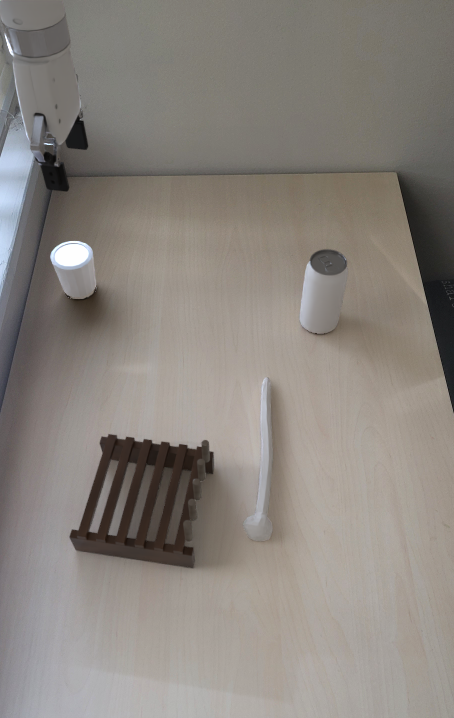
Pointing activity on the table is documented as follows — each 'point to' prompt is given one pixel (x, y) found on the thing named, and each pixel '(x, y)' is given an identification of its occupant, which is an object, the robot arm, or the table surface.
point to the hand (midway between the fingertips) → (68, 168)
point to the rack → (159, 457)
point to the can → (323, 291)
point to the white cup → (74, 268)
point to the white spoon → (263, 472)
